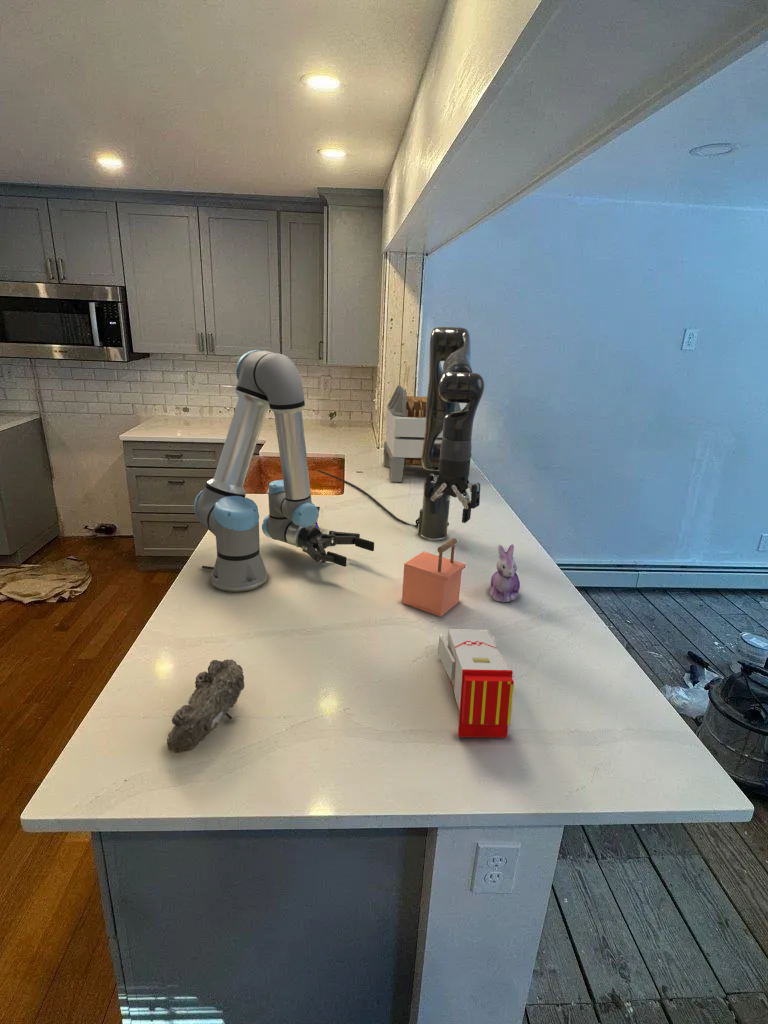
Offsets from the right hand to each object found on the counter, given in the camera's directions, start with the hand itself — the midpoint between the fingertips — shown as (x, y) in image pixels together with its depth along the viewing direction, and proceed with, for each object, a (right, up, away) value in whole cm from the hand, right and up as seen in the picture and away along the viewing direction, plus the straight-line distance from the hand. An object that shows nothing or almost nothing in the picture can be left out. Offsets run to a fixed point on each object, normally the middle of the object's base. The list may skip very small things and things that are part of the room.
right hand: (449, 518), depth 144 cm
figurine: (+17, -22, +16) cm, 32 cm away
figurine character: (-43, -6, +54) cm, 69 cm away
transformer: (+1, +20, +131) cm, 133 cm away
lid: (-3, -13, +7) cm, 15 cm away
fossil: (-49, -38, -36) cm, 72 cm away
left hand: (-24, -11, +21) cm, 33 cm away
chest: (-4, -23, +10) cm, 26 cm away
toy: (+1, -36, -25) cm, 44 cm away
